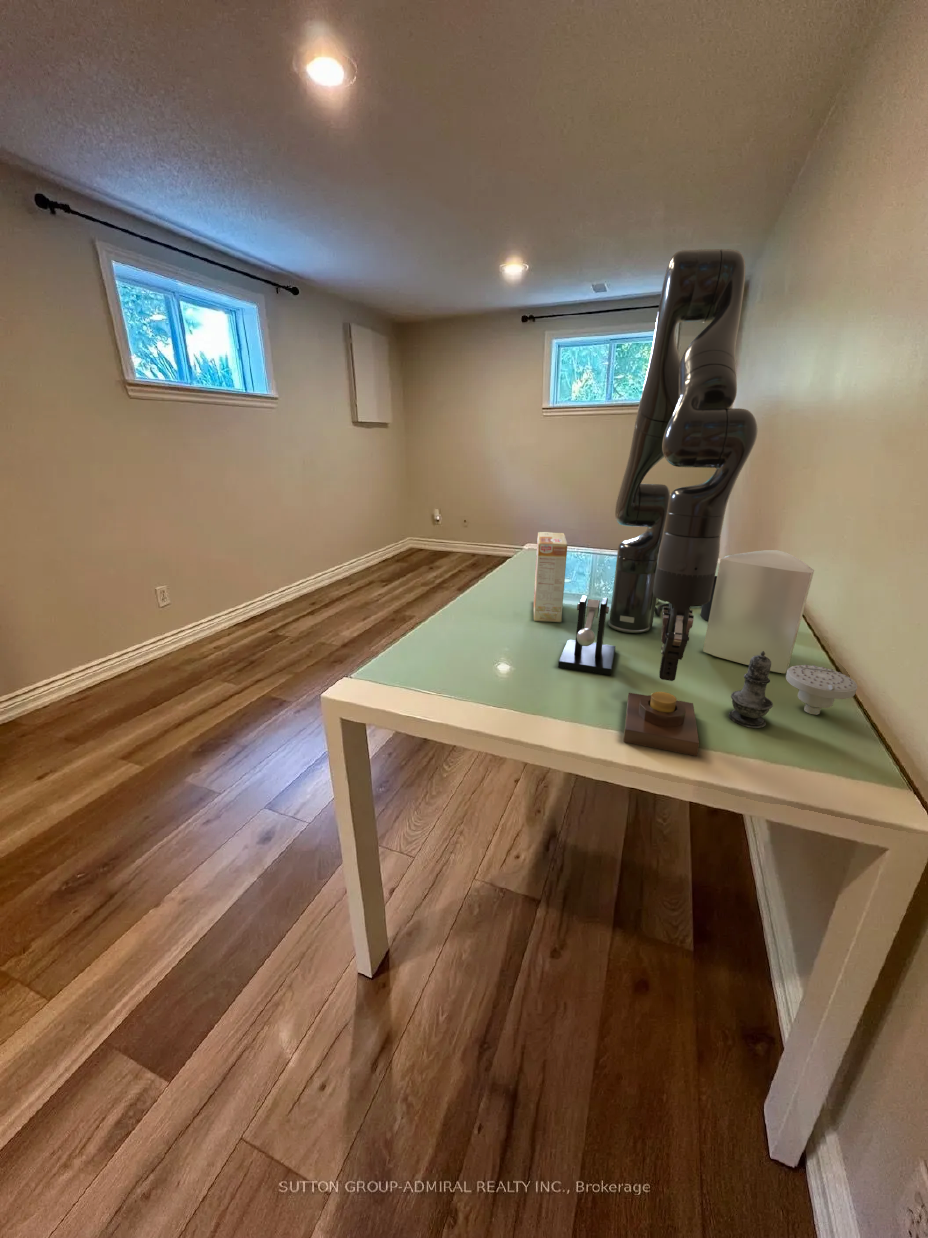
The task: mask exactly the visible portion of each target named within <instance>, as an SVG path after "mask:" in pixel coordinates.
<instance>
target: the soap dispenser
mask: <svg viewBox="0 0 928 1238" xmlns="http://www.w3.org/2000/svg"><path fill="white" fill-rule="evenodd" d="M814 573H815V569H814V568H812V567H811V566H809V565H808V564H807V563H805V561H803V560H802V559H800V558H798V557H796V556H795V555H793V554H791V553H789V552H786V551H782V550H779V549H763V550H755V551H748V552H742V553H734V554H729V555H726V556H723V557H721V558H720V561H719V565H718V570H717V575H716V576H717V580H716V585H715V590H714V595H713V600H712V606H711V611H710V616H709V621H707V626H706V632H705V637H704V642H703V647H702V652H704V653H706V654H708V655H711V656H713V657H717V658H720V659H724V660H727V661H731V662H735V663H739V664H743V665H746V666H749V664H750V660H751V658H752V657H754V656H757V655H761V652H763V651H764V652H765V655H764V656H765V657H767V658H769V659H770V661H771V668H770V672H773V673H779V674H780V673H781V674H785V675H786V674H787V670H788V668H790V664H791V660H792V656H793V652H794V649H795V645H796V640H797V637H798V634H799V629H800V625H801V621H802V618H803V615H804V611H805V606H806V603H807V600H808V595H809V591H810V588H811V584H812V580H813V576H814Z"/></svg>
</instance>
